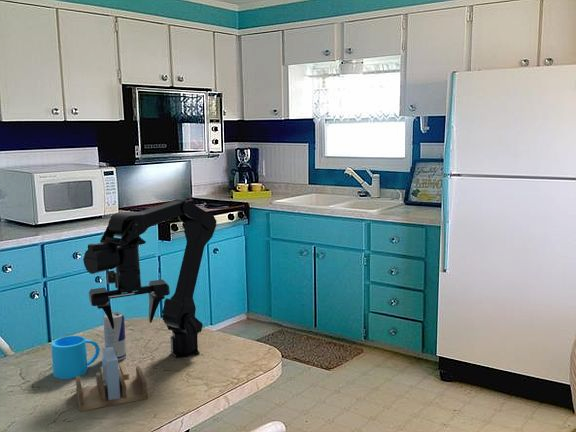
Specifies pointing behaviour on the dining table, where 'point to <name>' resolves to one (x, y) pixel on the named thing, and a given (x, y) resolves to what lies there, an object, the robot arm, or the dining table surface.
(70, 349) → the mug
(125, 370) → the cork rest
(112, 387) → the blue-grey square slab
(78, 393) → the rack
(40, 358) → the dining table surface
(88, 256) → the robot arm
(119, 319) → the energy drink
